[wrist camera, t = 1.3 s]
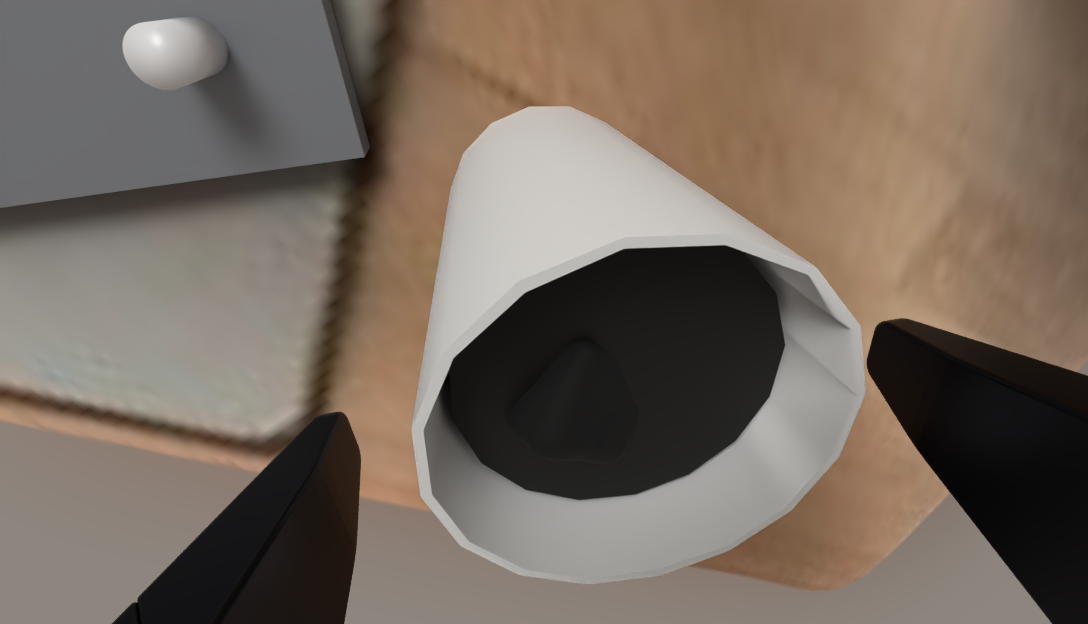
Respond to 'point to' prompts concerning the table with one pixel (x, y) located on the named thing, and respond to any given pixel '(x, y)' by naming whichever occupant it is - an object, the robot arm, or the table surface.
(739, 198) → the table surface
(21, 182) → the pin tray
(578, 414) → the white cup
